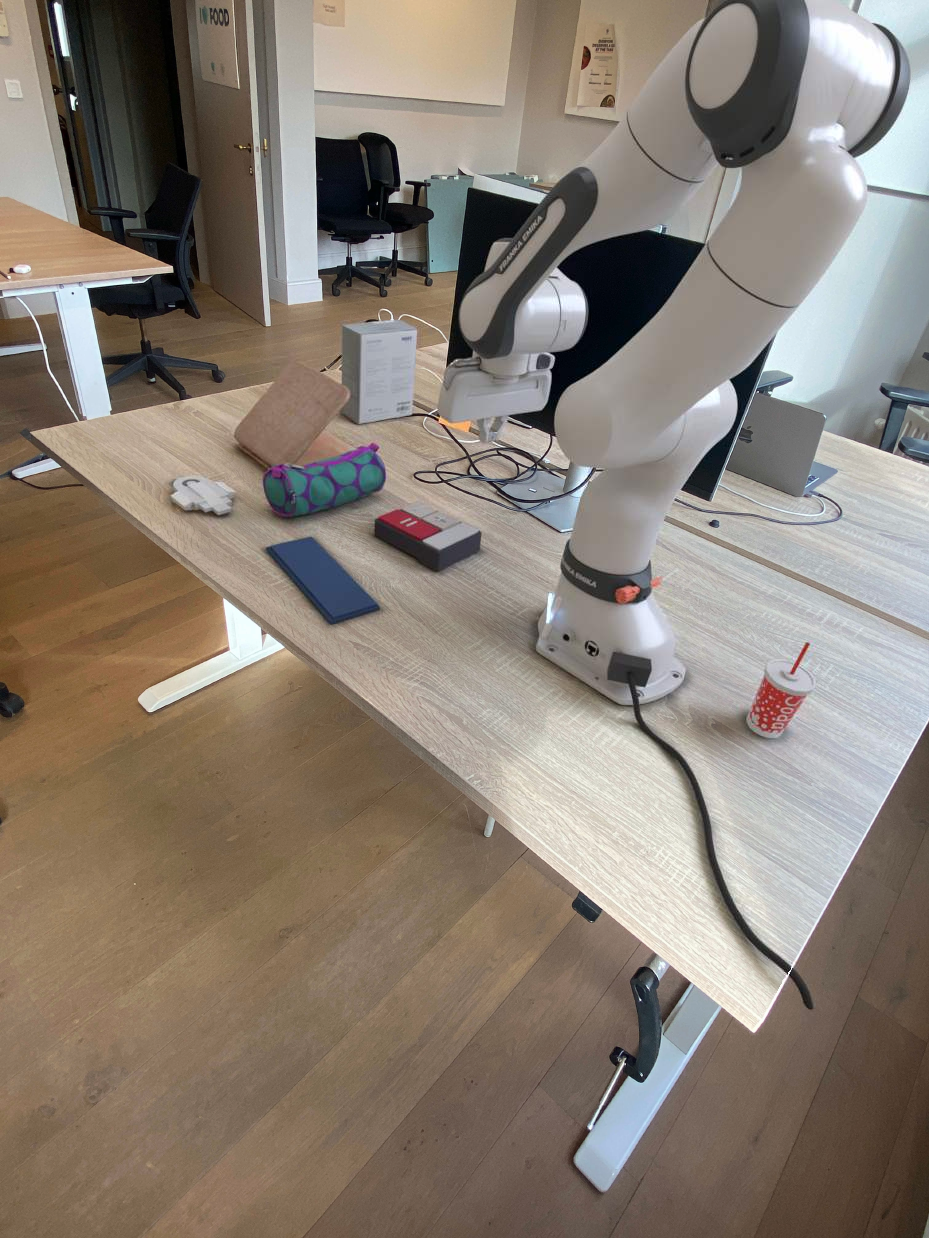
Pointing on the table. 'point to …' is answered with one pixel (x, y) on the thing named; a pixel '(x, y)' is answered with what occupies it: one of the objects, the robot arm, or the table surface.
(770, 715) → the beverage cup
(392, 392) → the hard drive box
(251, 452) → the case
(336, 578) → the flat dark blue box
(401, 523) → the red and grey box
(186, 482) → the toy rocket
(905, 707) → the table surface
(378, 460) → the pencil case
